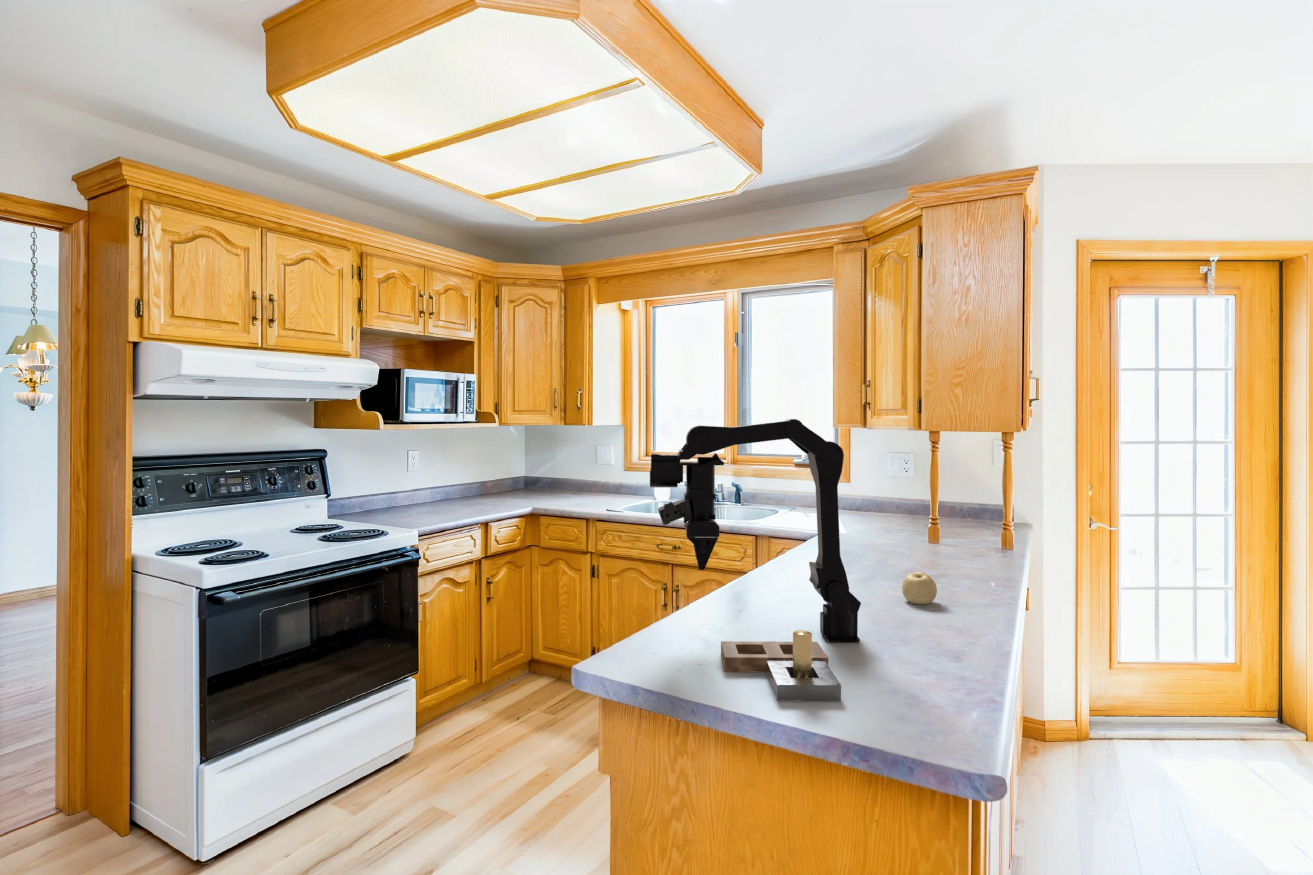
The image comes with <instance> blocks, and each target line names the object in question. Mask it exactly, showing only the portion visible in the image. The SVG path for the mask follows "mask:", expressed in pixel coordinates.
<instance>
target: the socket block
mask: <svg viewBox="0 0 1313 875" xmlns="http://www.w3.org/2000/svg"><path fill="white" fill-rule="evenodd" d="M766 678H767V680H768V682H769V685H770V686H771V689H772V692H773V695H774V697H775V699H776V702H778V701H779V702H780V701H782V702H792V701H793V702H815V701H816V702H842V684H841V682H840V681H839V680H838V678H837V677H836V675H835V674H834V673H833V671H832V670H831V668H830V667H829V664H828V665H827V663H826V662H825V661H812V678H793V661H767V672H766Z"/></svg>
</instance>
